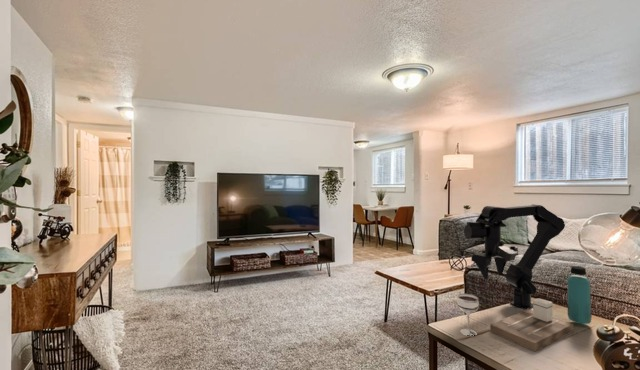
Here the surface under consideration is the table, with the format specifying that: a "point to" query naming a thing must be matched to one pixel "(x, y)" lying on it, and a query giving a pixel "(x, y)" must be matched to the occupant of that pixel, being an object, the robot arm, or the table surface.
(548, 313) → the fader knob
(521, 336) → the brown wooden board
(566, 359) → the table surface
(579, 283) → the beverage bottle
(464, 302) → the wineglass
